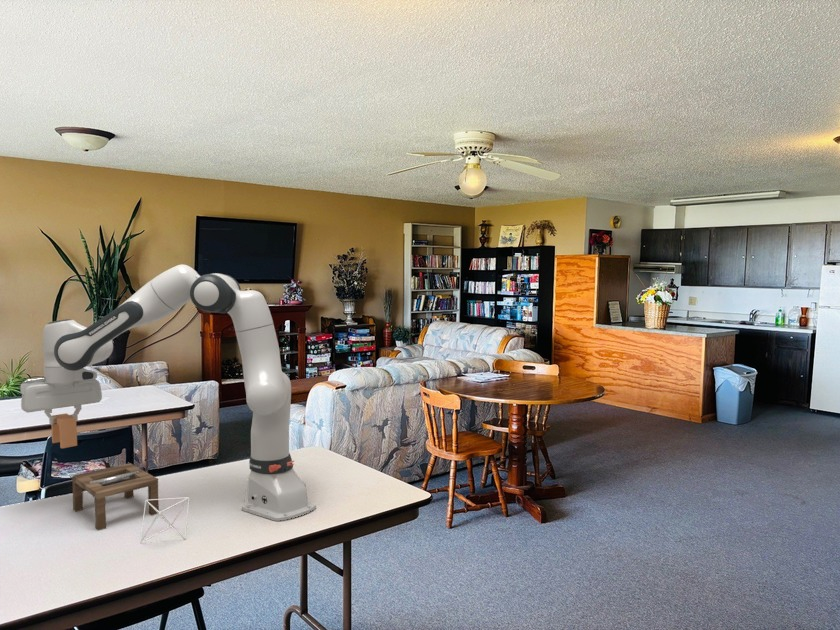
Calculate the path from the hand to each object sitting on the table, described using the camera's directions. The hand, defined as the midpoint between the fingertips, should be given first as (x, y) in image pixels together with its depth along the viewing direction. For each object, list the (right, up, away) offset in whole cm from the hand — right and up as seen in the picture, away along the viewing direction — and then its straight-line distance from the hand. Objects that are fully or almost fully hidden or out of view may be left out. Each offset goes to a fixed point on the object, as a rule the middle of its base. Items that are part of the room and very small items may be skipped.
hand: (63, 422), depth 174 cm
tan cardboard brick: (0, -6, 0) cm, 6 cm away
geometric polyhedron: (+38, -27, -19) cm, 50 cm away
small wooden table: (+17, -25, -3) cm, 30 cm away
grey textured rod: (+17, -16, -4) cm, 24 cm away
